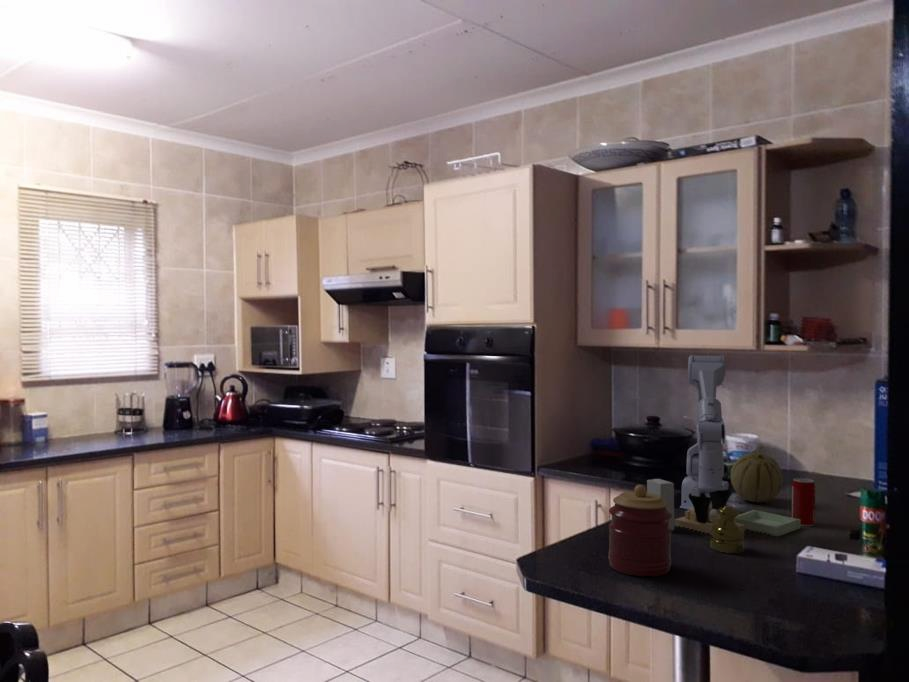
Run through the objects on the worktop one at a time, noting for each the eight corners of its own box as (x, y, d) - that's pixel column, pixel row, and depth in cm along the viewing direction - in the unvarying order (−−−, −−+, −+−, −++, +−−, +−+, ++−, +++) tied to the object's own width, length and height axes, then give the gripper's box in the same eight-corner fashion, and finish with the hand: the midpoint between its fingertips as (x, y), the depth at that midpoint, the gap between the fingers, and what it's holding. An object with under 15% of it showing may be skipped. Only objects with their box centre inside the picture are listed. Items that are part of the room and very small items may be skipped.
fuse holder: (674, 525, 181) (674, 511, 181) (695, 519, 187) (695, 505, 187) (724, 537, 170) (725, 523, 170) (745, 531, 176) (745, 516, 176)
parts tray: (728, 525, 182) (728, 516, 182) (752, 517, 190) (752, 509, 190) (777, 536, 172) (777, 527, 172) (800, 528, 180) (800, 519, 180)
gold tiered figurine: (728, 556, 156) (729, 512, 156) (703, 547, 163) (703, 504, 163) (751, 551, 160) (752, 508, 159) (725, 543, 166) (725, 501, 166)
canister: (661, 582, 139) (662, 494, 139) (599, 570, 146) (600, 486, 146) (677, 564, 150) (679, 483, 150) (619, 553, 157) (620, 476, 157)
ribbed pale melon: (757, 494, 218) (758, 447, 217) (794, 505, 204) (795, 455, 203) (719, 497, 213) (719, 449, 213) (753, 509, 199) (754, 457, 199)
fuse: (691, 518, 181) (692, 505, 181) (698, 518, 183) (699, 505, 183) (721, 525, 174) (722, 511, 175) (728, 525, 176) (729, 511, 177)
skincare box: (675, 530, 176) (676, 482, 176) (660, 531, 175) (661, 484, 175) (660, 524, 182) (660, 478, 182) (645, 525, 181) (646, 479, 180)
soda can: (817, 527, 181) (818, 481, 180) (794, 526, 182) (795, 480, 182) (811, 521, 186) (811, 477, 186) (789, 520, 187) (789, 476, 187)
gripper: (709, 473, 171) (708, 528, 171) (739, 467, 180) (738, 519, 180) (684, 469, 176) (683, 522, 176) (714, 462, 185) (713, 513, 186)
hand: (709, 520), depth 179 cm, fingers open, 7 cm apart
